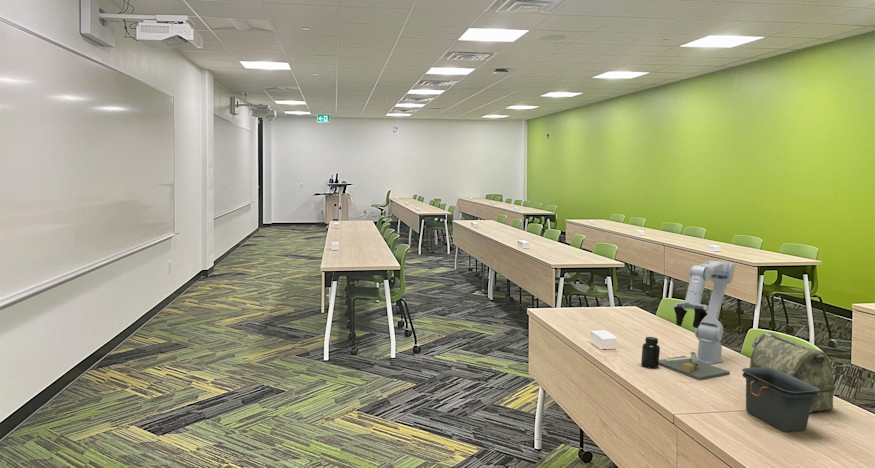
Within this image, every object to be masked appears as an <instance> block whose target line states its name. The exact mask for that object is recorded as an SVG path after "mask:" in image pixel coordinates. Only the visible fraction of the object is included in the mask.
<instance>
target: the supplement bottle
mask: <svg viewBox="0 0 875 468" xmlns="http://www.w3.org/2000/svg"><path fill="white" fill-rule="evenodd" d="M644 341H645V343H643V344H642V350H641V360H640V362H641V363H640V364H641V366H642V367H644V368H646V369H658V368H659V366H660V365H659V360H660V351H661V347H660V345H658V344H659V339H658V338H657V337H655V336H654V337H653V336H646V337H645V340H644Z"/></svg>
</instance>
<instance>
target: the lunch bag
mask: <svg viewBox="0 0 875 468" xmlns="http://www.w3.org/2000/svg"><path fill="white" fill-rule="evenodd" d="M751 347H752V348H753V350H752V352H751V355H750V361H749V362H750V363H749V368H758V367H767V368H773V369H776V370H779V371H781V372H783V373H786V374H788V375H790V376H792V377H795V378H797V379H799V380H801V381H804V382H806V383H808V384H810V385H812V386H815V387H817V388H819V389H820V390H819V391H817V394H818V396H817V397H813V400H812V404H811V409H810V411H817V412H823V410H825V411H831V410H833V409H834V393H835V390H836V386H835V381H834V374H833V373H834V372H833V369H832V368H833V367H832V364H831V360H830V358H829V356H828V355H827V354H826V353H825V352H824V351H823V350H822V351H821V350H820V349H815V348H811V347H809V346H806V345H803V344H800V343H798V342H795V341H793V340H789V339H786V338H783V337H781V336H780V335H779V334H777V333H776V332H773V331H772V332H763V333H762V334H760V335H759V336H758V337H757V336H756V337H755V339H754V341H753V344H752V346H751ZM830 409H831V410H830Z"/></svg>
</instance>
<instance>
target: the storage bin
mask: <svg viewBox="0 0 875 468" xmlns="http://www.w3.org/2000/svg"><path fill="white" fill-rule="evenodd" d="M741 371H742V372H743V373H742V377H743V378H744V379H745V389H746V390H745V399H746V400H745V410H746V412H748V413H750V414H751V415H753V416H756V417H757V418H759V419H761V420H762V421H764V422H765V423H767V424H770V425H771V426H773V427H774V428H776V427H777V428H776V429H778V430H780V431H783V432H785V431H786V432H787V431H790V432H799V431H798V430H803V431H806V430H807V427H808V422H809V417H810V413H811V412H810V409H811V404H812V400H813V397H817V396H818V394H817V391H819V390H820V389H819V388H817V387H815V386H812V385H810V384H808V383H806V382H804V381H801V380H799V379H797V378H795V377H792V376H790V375H788V374H786V373H783V372H781V371H779V370H776V369H773V368H767V367H758V368H750V367H744V368H742V369H741ZM786 432H785V433H786ZM787 433H788V432H787Z"/></svg>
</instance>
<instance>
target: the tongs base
mask: <svg viewBox="0 0 875 468" xmlns="http://www.w3.org/2000/svg"><path fill="white" fill-rule="evenodd" d="M691 354H694V355H696V352H694V351H691V352H690V355H691ZM697 361H698V360H697ZM683 363H691V364H692V361H691V356H690V357H689V356H685V355H683V356H676V357H675V356H674V357H668V358H663V359H659V366H660V367H663V368H665V369H669V370H670V371H673V372H677V373H679V374H682V375H684V376H686V377H690V378H692V379H695V380H697V381H703V380H708V379H714V378H719V377H723V376H728V375H729V376H730V375H731V371H729V370H726V369H723V368H721V367H717V366H714V365H711V364H707V363H704V362H701V361H698V367H694V372H692V373H687V372H685V371H682V370H683Z"/></svg>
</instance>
